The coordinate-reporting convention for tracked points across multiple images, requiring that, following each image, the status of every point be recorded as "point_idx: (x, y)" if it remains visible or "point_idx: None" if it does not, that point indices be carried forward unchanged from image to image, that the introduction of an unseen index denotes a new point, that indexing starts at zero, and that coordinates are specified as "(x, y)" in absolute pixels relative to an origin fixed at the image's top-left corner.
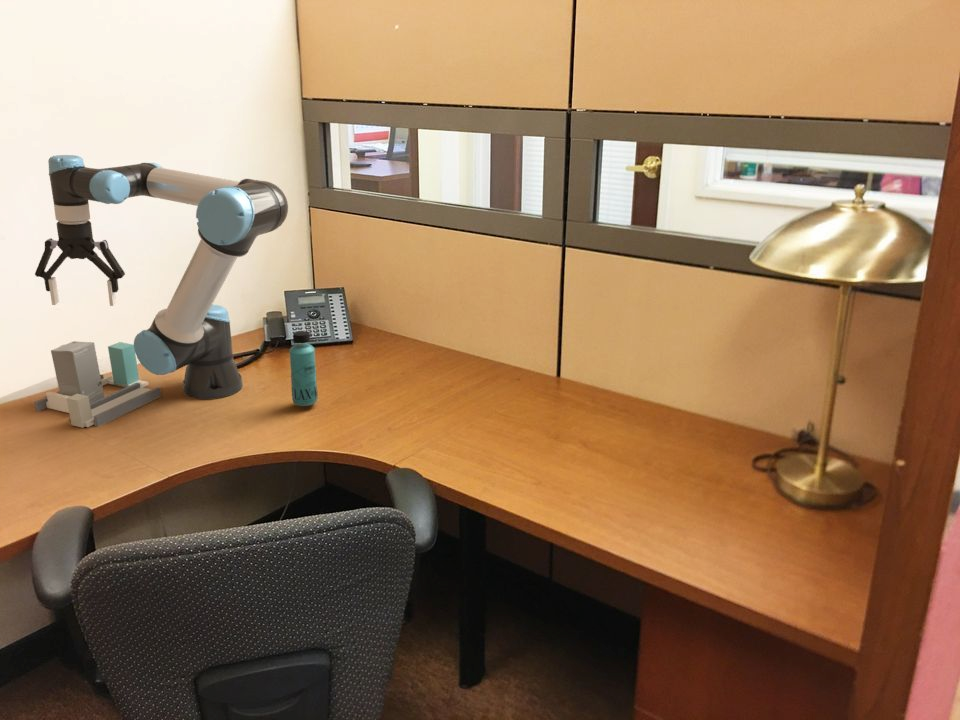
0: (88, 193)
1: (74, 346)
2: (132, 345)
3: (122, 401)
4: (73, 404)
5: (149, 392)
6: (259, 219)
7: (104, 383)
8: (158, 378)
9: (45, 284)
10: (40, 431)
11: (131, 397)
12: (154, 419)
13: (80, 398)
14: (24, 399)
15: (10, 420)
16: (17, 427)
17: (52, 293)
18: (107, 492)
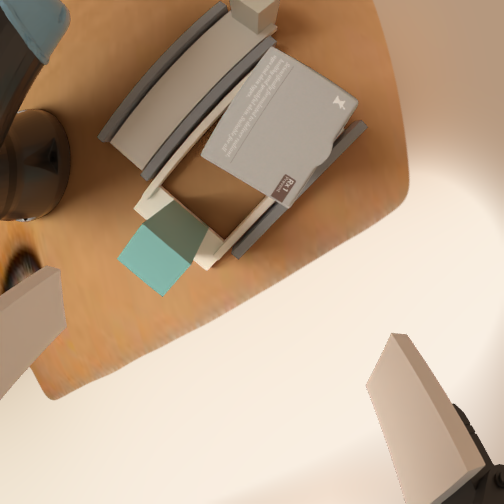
0: None
1: (273, 114)
2: (120, 254)
3: (174, 89)
4: None
5: (115, 111)
6: None
7: (230, 234)
8: (124, 245)
9: (477, 438)
10: (331, 23)
11: (156, 109)
12: (119, 27)
13: None
14: (386, 203)
15: (396, 98)
16: (377, 58)
17: (428, 384)
18: None
